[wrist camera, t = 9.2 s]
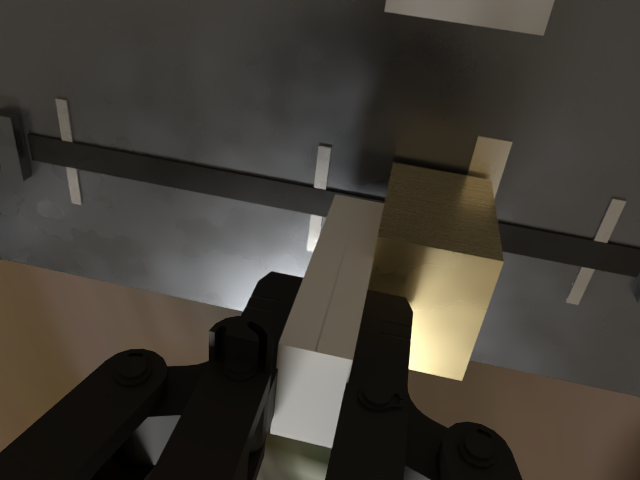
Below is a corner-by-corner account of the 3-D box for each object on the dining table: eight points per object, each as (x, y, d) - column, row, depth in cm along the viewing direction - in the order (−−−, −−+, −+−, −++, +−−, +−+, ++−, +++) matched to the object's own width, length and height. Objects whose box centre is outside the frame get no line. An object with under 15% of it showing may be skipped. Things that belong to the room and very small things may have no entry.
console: (-11, 225, 25) (-54, 255, 23) (-183, -444, 14) (-294, -505, 12) (687, 371, 22) (713, 422, 19) (1165, -351, 11) (1337, -410, 9)
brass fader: (372, 267, 19) (354, 356, 15) (392, 162, 17) (377, 236, 13) (458, 284, 19) (462, 380, 15) (491, 180, 17) (503, 261, 13)
